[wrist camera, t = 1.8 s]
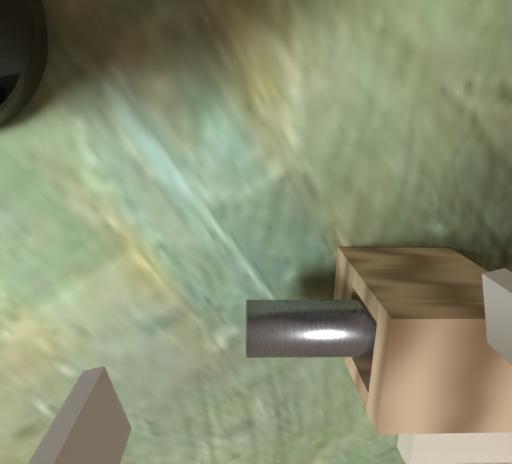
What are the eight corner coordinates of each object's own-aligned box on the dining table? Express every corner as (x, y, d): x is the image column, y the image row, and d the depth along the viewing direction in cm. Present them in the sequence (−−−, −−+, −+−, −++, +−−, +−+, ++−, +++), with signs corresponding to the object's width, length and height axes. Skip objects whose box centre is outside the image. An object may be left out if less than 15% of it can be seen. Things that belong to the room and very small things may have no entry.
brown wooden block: (330, 328, 36) (376, 434, 24) (337, 246, 34) (392, 319, 22) (436, 328, 37) (532, 431, 25) (450, 247, 34) (563, 318, 22)
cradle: (397, 446, 40) (415, 484, 36) (405, 393, 39) (425, 427, 34) (499, 444, 41) (529, 482, 37) (513, 391, 39) (546, 425, 35)
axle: (245, 341, 30) (246, 368, 26) (246, 292, 29) (247, 312, 26) (544, 339, 31) (588, 365, 27) (552, 292, 31) (598, 312, 27)
